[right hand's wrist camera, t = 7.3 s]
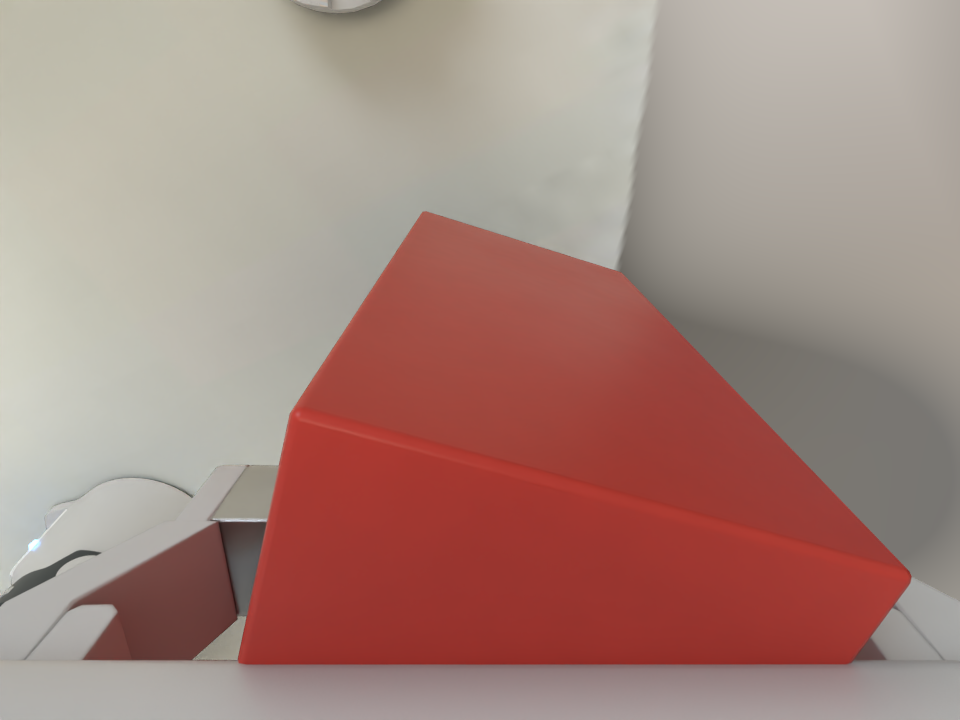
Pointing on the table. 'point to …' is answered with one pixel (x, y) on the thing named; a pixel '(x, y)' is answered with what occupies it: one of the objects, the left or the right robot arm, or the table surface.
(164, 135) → the table surface
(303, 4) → the flag stand
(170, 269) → the table surface
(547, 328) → the block
